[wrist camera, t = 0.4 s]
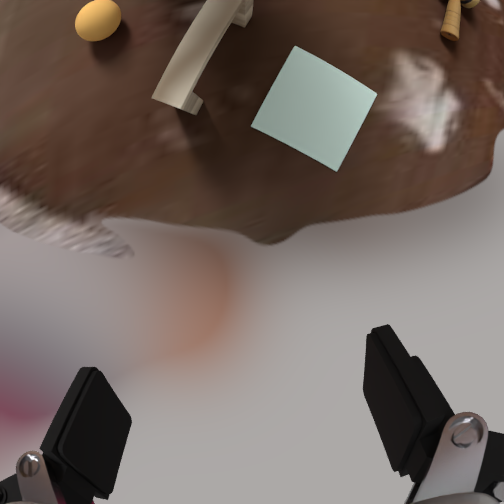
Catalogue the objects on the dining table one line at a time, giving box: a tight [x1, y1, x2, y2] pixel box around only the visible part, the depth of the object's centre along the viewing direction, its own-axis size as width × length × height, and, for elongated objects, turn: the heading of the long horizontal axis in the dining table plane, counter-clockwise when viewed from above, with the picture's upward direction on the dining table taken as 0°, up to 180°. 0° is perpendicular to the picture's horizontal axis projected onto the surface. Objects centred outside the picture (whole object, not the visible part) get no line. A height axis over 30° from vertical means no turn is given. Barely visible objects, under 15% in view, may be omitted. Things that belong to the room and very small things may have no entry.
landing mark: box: [251, 46, 377, 172], centre depth 33 cm, size 12×12×1 cm
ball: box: [75, 0, 121, 41], centre depth 25 cm, size 6×6×6 cm
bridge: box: [152, 0, 253, 115], centre depth 26 cm, size 3×15×10 cm, turn 153°
